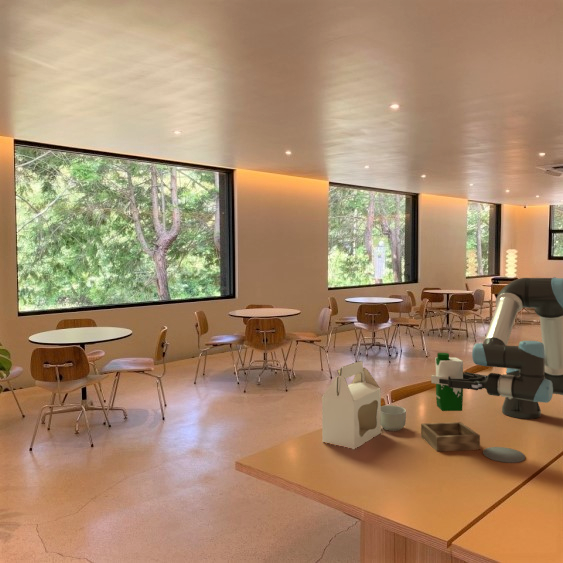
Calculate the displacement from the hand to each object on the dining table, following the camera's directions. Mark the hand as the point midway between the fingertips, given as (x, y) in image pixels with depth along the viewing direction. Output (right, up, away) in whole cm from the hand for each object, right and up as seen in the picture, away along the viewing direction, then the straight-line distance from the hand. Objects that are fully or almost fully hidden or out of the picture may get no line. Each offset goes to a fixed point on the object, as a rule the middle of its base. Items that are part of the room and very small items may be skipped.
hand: (437, 376), depth 190 cm
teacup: (-15, -24, +15) cm, 32 cm away
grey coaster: (+18, -24, -15) cm, 33 cm away
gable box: (-30, -24, +5) cm, 39 cm away
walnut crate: (+4, -24, -2) cm, 24 cm away
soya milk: (+4, -11, -2) cm, 12 cm away
